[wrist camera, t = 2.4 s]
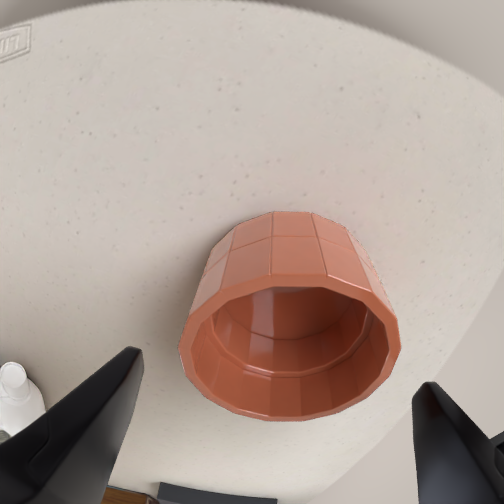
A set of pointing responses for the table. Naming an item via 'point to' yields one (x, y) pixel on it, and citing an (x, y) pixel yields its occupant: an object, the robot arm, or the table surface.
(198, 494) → the scale
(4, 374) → the binoculars
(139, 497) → the book
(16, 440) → the robot arm
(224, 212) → the table surface
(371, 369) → the pot
